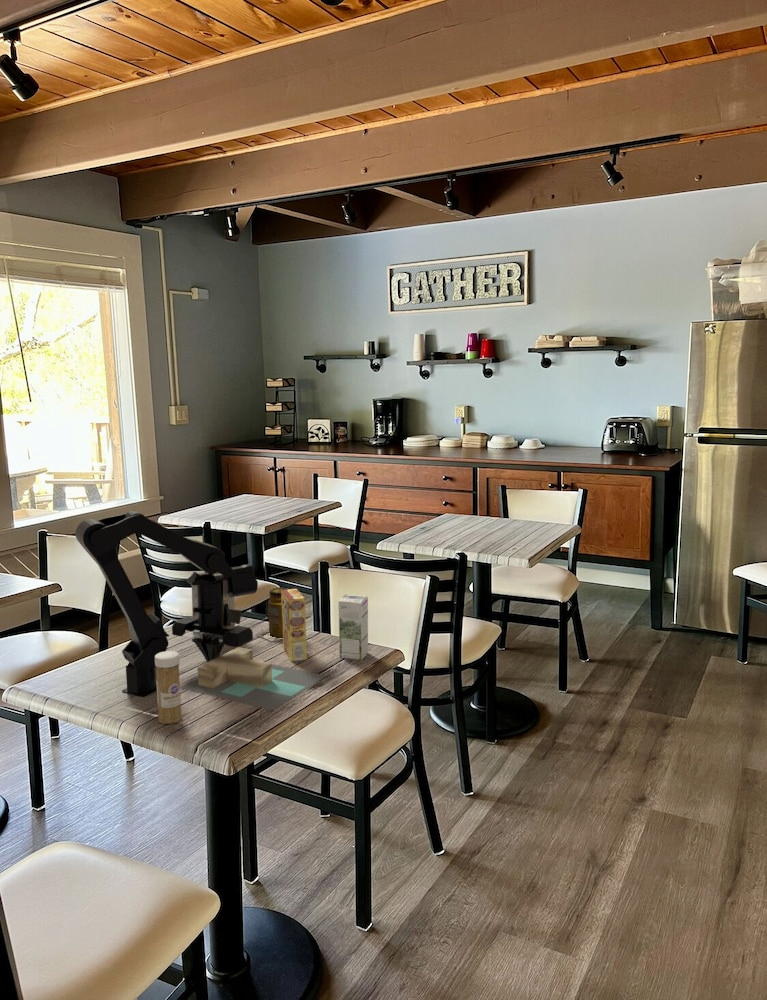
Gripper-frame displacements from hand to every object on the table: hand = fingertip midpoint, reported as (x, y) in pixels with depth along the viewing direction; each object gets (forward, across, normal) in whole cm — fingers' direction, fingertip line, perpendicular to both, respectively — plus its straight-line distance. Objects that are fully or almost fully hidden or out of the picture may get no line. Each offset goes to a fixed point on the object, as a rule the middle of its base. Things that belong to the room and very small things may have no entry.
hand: (213, 667), depth 175 cm
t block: (+1, -8, 0) cm, 8 cm away
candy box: (+2, -10, -18) cm, 20 cm away
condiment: (+2, +2, -28) cm, 28 cm away
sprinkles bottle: (+2, -7, +22) cm, 23 cm away
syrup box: (+2, -23, -24) cm, 33 cm away
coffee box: (+2, +17, -21) cm, 27 cm away
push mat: (+1, -12, 0) cm, 12 cm away
